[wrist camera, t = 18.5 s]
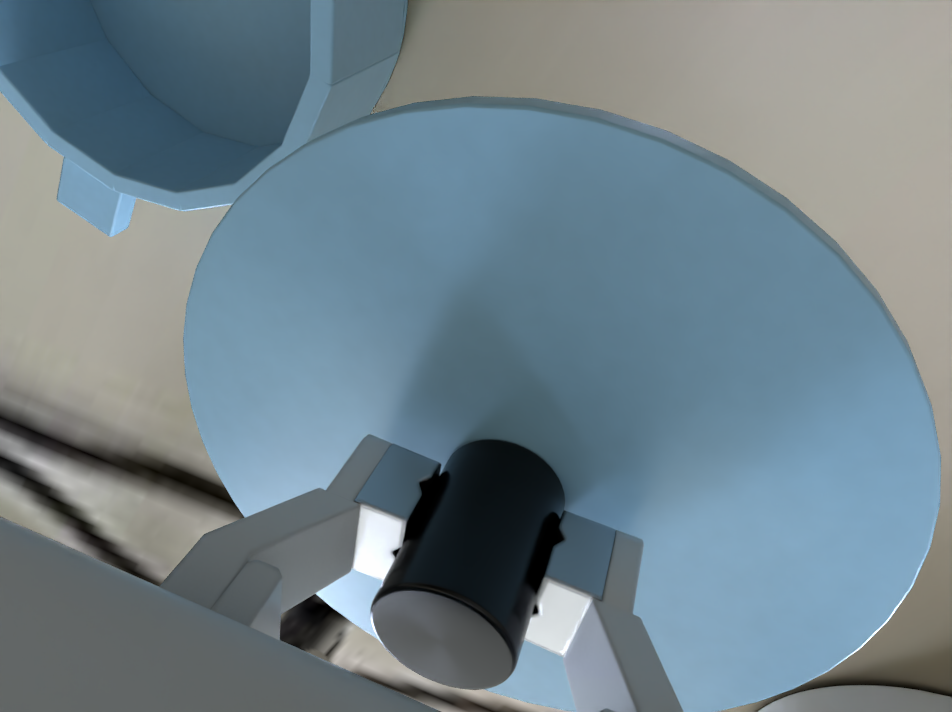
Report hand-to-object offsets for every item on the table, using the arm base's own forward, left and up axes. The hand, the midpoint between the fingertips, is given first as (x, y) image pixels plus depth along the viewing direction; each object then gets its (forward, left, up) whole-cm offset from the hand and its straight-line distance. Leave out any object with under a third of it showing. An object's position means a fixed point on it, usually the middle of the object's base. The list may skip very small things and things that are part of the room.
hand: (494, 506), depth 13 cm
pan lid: (0, 0, -1) cm, 1 cm away
